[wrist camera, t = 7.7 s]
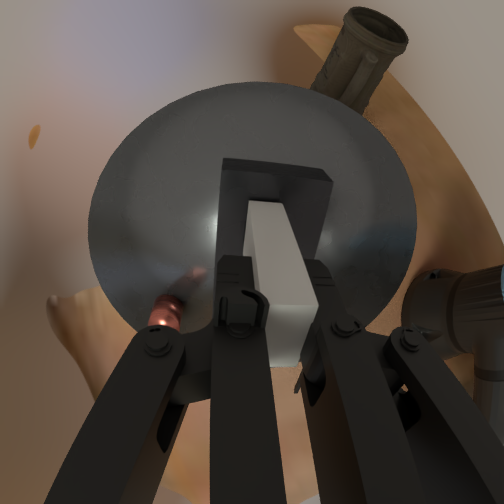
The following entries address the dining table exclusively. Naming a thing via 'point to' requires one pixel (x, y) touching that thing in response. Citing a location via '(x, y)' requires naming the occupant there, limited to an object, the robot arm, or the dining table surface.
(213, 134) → the cooker lid
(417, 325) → the robot arm
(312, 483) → the dining table surface
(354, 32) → the beer stein
